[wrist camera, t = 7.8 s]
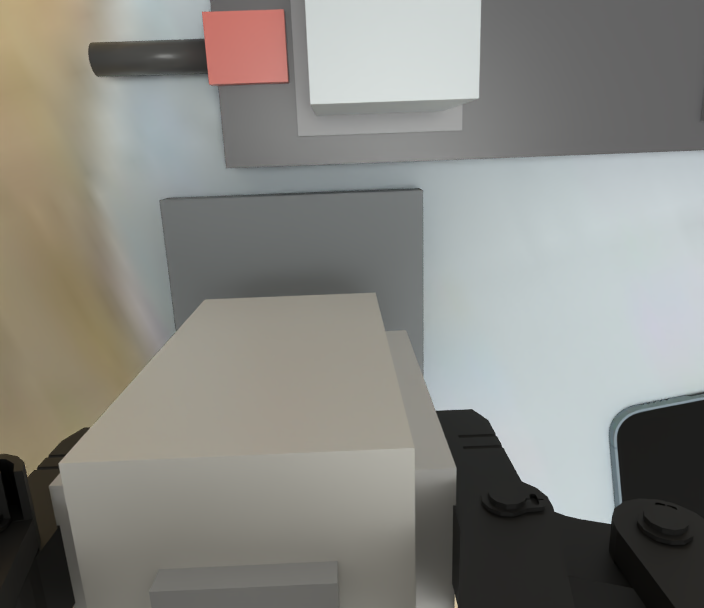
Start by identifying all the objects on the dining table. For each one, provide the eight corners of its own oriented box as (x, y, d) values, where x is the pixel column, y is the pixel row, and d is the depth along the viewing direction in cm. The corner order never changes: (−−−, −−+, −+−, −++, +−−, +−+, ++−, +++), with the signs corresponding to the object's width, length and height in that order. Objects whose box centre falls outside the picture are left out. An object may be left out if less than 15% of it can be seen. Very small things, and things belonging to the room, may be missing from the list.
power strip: (121, 170, 20) (96, 173, 18) (89, -55, 18) (57, -82, 16) (845, 143, 20) (906, 142, 18) (888, -79, 18) (960, -108, 16)
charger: (221, 451, 16) (100, 762, 8) (205, 299, 15) (41, 481, 7) (379, 445, 16) (419, 747, 8) (375, 292, 15) (418, 464, 7)
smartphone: (795, 378, 22) (794, 673, 26) (777, 370, 23) (779, 656, 27) (610, 415, 22) (636, 702, 26) (600, 405, 23) (626, 685, 27)
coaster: (195, 426, 22) (189, 438, 21) (167, 197, 20) (159, 200, 19) (419, 415, 23) (423, 427, 22) (418, 188, 20) (423, 190, 19)
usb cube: (316, 115, 18) (310, 104, 13) (309, -28, 17) (299, -91, 12) (443, 110, 18) (479, 98, 13) (444, -32, 17) (483, -97, 12)
